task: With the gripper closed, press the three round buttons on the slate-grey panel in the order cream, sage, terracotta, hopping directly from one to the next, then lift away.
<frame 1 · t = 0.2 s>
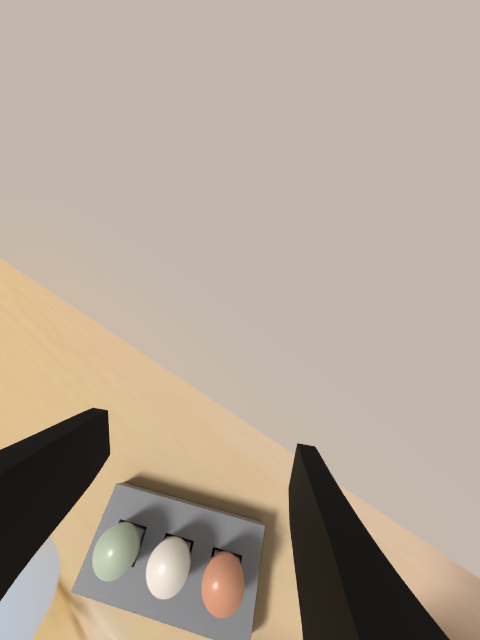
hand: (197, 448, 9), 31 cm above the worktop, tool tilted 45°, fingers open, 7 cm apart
button panel: (178, 550, 29), on the worktop
sage button: (122, 545, 27), point 4 cm above the worktop, slide at 0.0 cm
cream button: (171, 561, 26), point 4 cm above the worktop, slide at 0.0 cm
terracotta button: (223, 576, 26), point 4 cm above the worktop, slide at 0.0 cm
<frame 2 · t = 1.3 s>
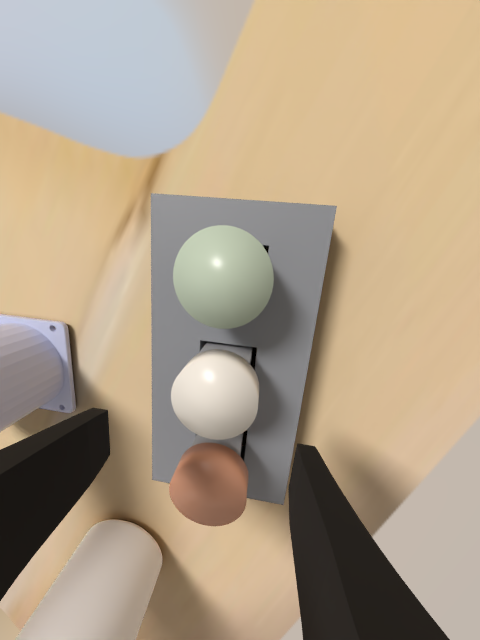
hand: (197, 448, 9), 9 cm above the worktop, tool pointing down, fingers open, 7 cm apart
beverage can: (128, 541, 24), on the worktop
button panel: (232, 355, 17), on the worktop
sage button: (230, 276, 12), point 4 cm above the worktop, slide at 0.0 cm
cream button: (222, 380, 14), point 4 cm above the worktop, slide at 0.0 cm
terracotta button: (215, 463, 15), point 4 cm above the worktop, slide at 0.0 cm
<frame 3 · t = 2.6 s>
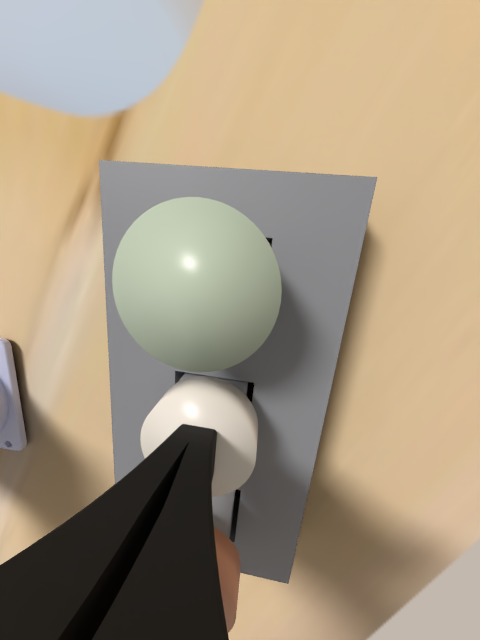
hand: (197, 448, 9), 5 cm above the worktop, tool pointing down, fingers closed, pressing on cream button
button panel: (222, 384, 13), on the worktop
sage button: (213, 284, 8), point 4 cm above the worktop, slide at 0.0 cm
cream button: (210, 413, 11), point 3 cm above the worktop, slide at 1.2 cm, touching gripper
terracotta button: (196, 539, 11), point 4 cm above the worktop, slide at 0.0 cm
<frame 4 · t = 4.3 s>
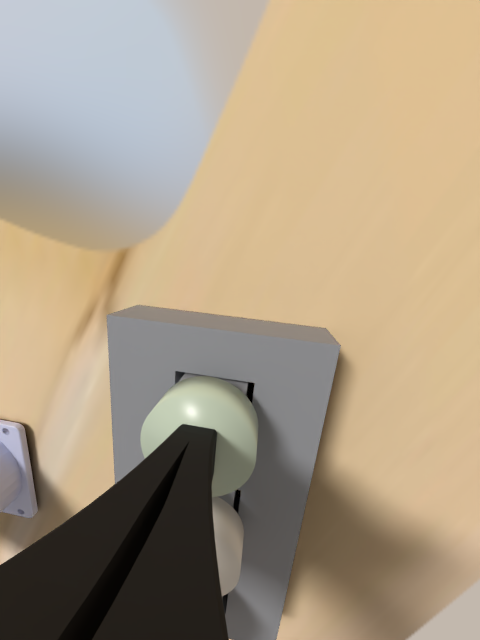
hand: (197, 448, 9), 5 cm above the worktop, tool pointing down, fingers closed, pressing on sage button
button panel: (214, 469, 15), on the worktop
sage button: (211, 413, 11), point 3 cm above the worktop, slide at 1.2 cm, touching gripper
cream button: (203, 512, 12), point 3 cm above the worktop, slide at 1.2 cm
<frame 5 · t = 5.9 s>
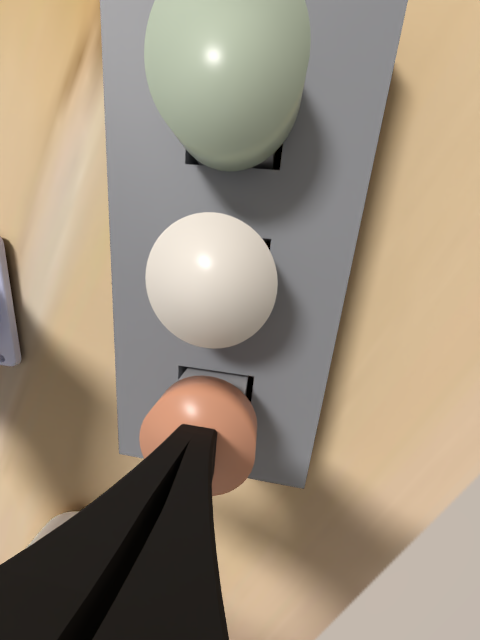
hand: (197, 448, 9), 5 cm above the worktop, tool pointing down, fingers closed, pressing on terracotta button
beverage can: (98, 539, 19), on the worktop
button panel: (232, 276, 12), on the worktop
sage button: (235, 107, 8), point 3 cm above the worktop, slide at 1.2 cm
cream button: (222, 280, 10), point 3 cm above the worktop, slide at 1.2 cm
terracotta button: (210, 412, 11), point 3 cm above the worktop, slide at 0.7 cm, touching gripper
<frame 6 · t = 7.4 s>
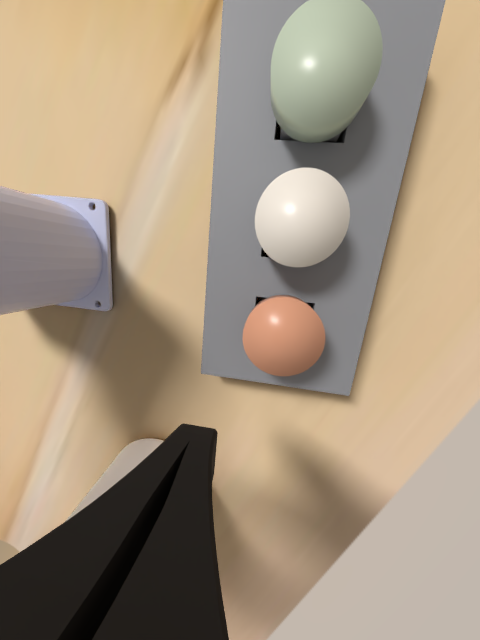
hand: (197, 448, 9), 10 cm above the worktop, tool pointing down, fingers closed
beverage can: (161, 467, 22), on the worktop
button panel: (292, 232, 16), on the worktop
sage button: (315, 98, 12), point 3 cm above the worktop, slide at 1.2 cm
cream button: (296, 226, 13), point 3 cm above the worktop, slide at 1.2 cm
terracotta button: (281, 328, 15), point 3 cm above the worktop, slide at 1.2 cm
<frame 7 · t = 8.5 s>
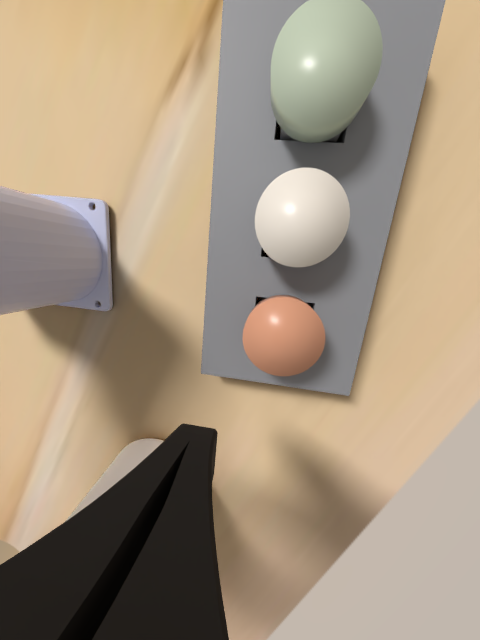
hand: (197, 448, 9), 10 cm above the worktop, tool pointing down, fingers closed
beverage can: (161, 467, 22), on the worktop
button panel: (292, 232, 16), on the worktop
sage button: (315, 98, 12), point 3 cm above the worktop, slide at 1.2 cm
cream button: (296, 226, 13), point 3 cm above the worktop, slide at 1.2 cm
terracotta button: (281, 328, 15), point 3 cm above the worktop, slide at 1.2 cm
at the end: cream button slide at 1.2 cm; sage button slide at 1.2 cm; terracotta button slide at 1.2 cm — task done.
